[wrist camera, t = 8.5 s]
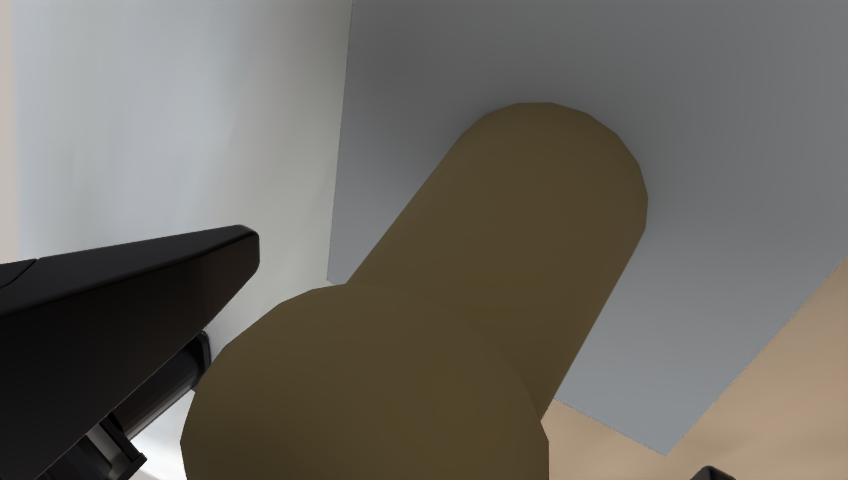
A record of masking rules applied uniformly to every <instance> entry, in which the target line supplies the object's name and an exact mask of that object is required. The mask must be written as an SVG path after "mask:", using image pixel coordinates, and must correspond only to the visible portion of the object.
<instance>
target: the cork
mask: <svg viewBox="0 0 848 480" xmlns="http://www.w3.org/2000/svg"><path fill="white" fill-rule="evenodd" d="M647 207H648V194H647V191H646V187H645V183H644V180H643V176H642V173H641V169H640V166H639V163H638V162H637V161H636V159H635V158H634V157H633V155H632V154H631V152H630V151H629V150H628V148H627V147H626V146H625V144H624V143H623V141H622V140H621V139H620V137H619V136H618V135H617V134H616V133H615V132H613V131H612V130H610V129H609V128H607V127H606V126H605V125H603V124H602V123H600V122H599V121H597V120H596V119H595V118H593V117H592V116H590V115H589V114H588V113H585V112H582V111H579V110H575V109H572V108H569V107H565V106H562V105H559V104H555V103H552V102H543V103H515V104H513V105H510V106H507V107H504V108H502V109H499V110H496V111H493V112H491V113H488V114H485V115H484V116H483V117H482V118H481V119H479V120H478V121H477V122H476V123H475V124H473V125H472V126H471V127H470V128H468V129H467V130H466V131H465V132H464V133H462V135H461V136H460V137H459V138H458V140H457V141H456V142H455V144H454V145H453V146H452V147H451V149H450V150H449V151H448V153H447V154H446V155H445V156H444V158H443V159H442V160H441V162H440V163H439V164H438V165H437V167H436V168H435V169H434V171H433V172H432V173H431V174H430V176H429V177H428V178H427V180H426V181H425V182H424V183H423V185H422V186H421V187H420V189H419V190H418V191H417V192H416V194H415V195H414V196H413V198H412V199H411V200H410V201H409V203H408V204H407V205H406V207H405V208H404V209H403V210H402V212H401V213H400V214H399V216H398V217H397V218H396V219H395V221H394V222H393V223H392V225H391V226H390V227H389V228H388V230H387V231H386V232H385V234H384V235H383V236H382V237H381V239H380V240H379V241H378V243H377V244H376V245H375V246H374V248H373V249H372V250H371V252H370V253H369V254H368V255H367V257H366V258H365V259H364V261H363V262H362V263H361V264H360V266H359V267H358V268H357V270H356V271H355V272H354V273H353V275H352V276H351V277H350V279H349V280H348V281H347V282H346V284H341V285H335V286H329V287H323V288H317V289H312V290H310V291H307V292H305V293H303V294H300V295H298V296H296V297H293V298H291V299H289V300H287V301H284V302H282V303H280V304H278V305H277V306H276V307H274V308H273V309H272V310H270V311H269V312H268V313H267V314H265V315H264V316H263V317H261V318H260V319H259V320H258V321H256V322H255V323H254V324H252V325H251V326H250V327H249V328H247V329H246V330H245V331H244V332H242V333H241V334H240V335H239V336H237V337H236V338H235V339H233V340H232V341H231V342H230V343H228V344H227V345H226V346H225V347H224V348H223V349H222V351H221V352H220V353H219V355H218V356H217V357H216V359H215V360H214V361H213V363H212V364H211V365H210V367H209V368H208V369H207V371H206V372H205V373H204V375H203V376H202V377H201V379H200V381H199V383H198V386H197V389H196V392H195V395H194V398H193V401H192V403H191V406H190V409H189V412H188V415H187V418H186V421H185V424H184V428H183V432H182V436H181V440H180V446H181V451H182V457H183V463H184V469H185V473H186V477H187V480H549V441H548V439H547V436H546V434H545V432H544V429H543V427H542V425H541V422H540V421H541V419H542V418H543V416H544V414H545V412H546V410H547V409H548V407H549V405H550V403H551V401H552V400H553V398H554V396H555V394H556V392H557V391H558V389H559V387H560V385H561V383H562V381H563V380H564V378H565V376H566V374H567V372H568V371H569V369H570V367H571V365H572V363H573V362H574V360H575V358H576V356H577V354H578V353H579V351H580V349H581V347H582V345H583V344H584V342H585V340H586V338H587V336H588V334H589V333H590V331H591V329H592V327H593V325H594V324H595V322H596V320H597V318H598V316H599V315H600V313H601V311H602V309H603V307H604V306H605V304H606V302H607V300H608V298H609V297H610V295H611V293H612V291H613V289H614V287H615V286H616V284H617V282H618V280H619V278H620V277H621V275H622V273H623V271H624V269H625V268H626V266H627V264H628V262H629V260H630V259H631V257H632V255H633V253H634V251H635V249H636V247H637V245H638V243H639V241H640V239H641V237H642V235H643V233H644V231H645V228H646V218H647Z"/></svg>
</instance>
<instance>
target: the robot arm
mask: <svg viewBox="0 0 848 480" xmlns="http://www.w3.org/2000/svg"><path fill="white" fill-rule="evenodd" d="M259 263H260V246H259V235H258V233H257V232H256V231H254V230H252V229H250V228H248V227H246V226H244V225H233V226H227V227H221V228H215V229H209V230H203V231H197V232H191V233H185V234H179V235H173V236H167V237H161V238H155V239H149V240H143V241H137V242H131V243H125V244H119V245H113V246H107V247H101V248H95V249H89V250H83V251H77V252H72V253H66V254H60V255H54V256H48V257H42V258H40V259H29V260H23V261H18V262H12V263H6V264H0V480H129V479H130V478H131V477H132V476H133V475H134V473H135V472H136V471H137V470H138V469H139V468H140V467H141V466H142V465H143V464H144V463H145V462H146V461H147V458H146V457H145V456H144V454H143V453H140V452H139V451H138V450H137V449H136V448H135V447H134V445H133V444H132V443H131V442H130V441H131V440H132V439H133V438H134V437H135V436H137V435H138V434H139V433H140V432H141V431H142V430H144V429H145V428H146V427H147V426H148V425H150V424H151V423H152V422H153V421H154V420H155V419H157V418H158V417H159V416H160V415H161V414H163V413H164V412H165V411H166V410H167V409H168V408H170V407H171V406H172V405H173V404H174V403H176V402H177V401H178V400H179V399H180V398H181V397H183V396H184V395H185V394H186V393H187V392H189V391H190V390H193V391H194V392H196V389H197V386H198V383H199V381H200V379H201V377H202V376H203V375H204V373H205V372H206V371H207V369H208V368H209V367H210V360H209V351H208V342H207V339H206V337H205V336H204V335H203V334H202V333H200V331H201V330H202V329H204V328H205V327H206V326H207V325H208V324H209V323H210V322H211V321H212V320H213V319H214V318H215V317H216V315H217V314H218V313H219V312H220V311H221V310H222V309H223V308H224V307H225V306H226V304H227V303H228V302H229V301H230V300H231V299H232V298H233V297H234V296H235V295H236V293H237V292H238V291H239V290H240V289H241V288H242V287H243V286H244V285H245V284H246V283H247V281H248V280H249V279H250V278H251V277H252V276H253V275H254V274H255V272H256V271H257V269H258V267H259ZM690 480H736V479H735V478H734V477H732V476H730V475H728V474H726V473H724V472H723V471H721V470H719V469H717V468H715V467H713V466H705V467H703V468H702V469H701V470H700V471H699V472H698V473H697V474H696V475H695V476H694V477H692V478H691V479H690Z"/></svg>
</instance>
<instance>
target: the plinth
mask: <svg viewBox="0 0 848 480" xmlns="http://www.w3.org/2000/svg"><path fill="white" fill-rule="evenodd" d="M543 102H552V103H555V104H559V105H562V106H565V107H569V108H572V109H575V110H579V111H582V112H585V113H588V114H589V115H590V116H592V117H593V118H595V119H596V120H597V121H599V122H600V123H602V124H603V125H605V126H606V127H607V128H609V129H610V130H612V131H613V132H615V133H616V134H617V135H618V136H619V137H620V139H621V140H622V141H623V143H624V144H625V146H626V147H627V148H628V150H629V151H630V152H631V154H632V155H633V157H634V158H635V159H636V161H637V162H638V163H639V166H640V169H641V173H642V176H643V180H644V183H645V187H646V191H647V194H648V207H647V218H646V228H645V231H644V233H643V235H642V237H641V239H640V241H639V243H638V245H637V247H636V249H635V251H634V253H633V255H632V257H631V259H630V260H629V262H628V264H627V266H626V268H625V269H624V271H623V273H622V275H621V277H620V278H619V280H618V282H617V284H616V286H615V287H614V289H613V291H612V293H611V295H610V297H609V298H608V300H607V302H606V304H605V306H604V307H603V309H602V311H601V313H600V315H599V316H598V318H597V320H596V322H595V324H594V325H593V327H592V329H591V331H590V333H589V334H588V336H587V338H586V340H585V342H584V344H583V345H582V347H581V349H580V351H579V353H578V354H577V356H576V358H575V360H574V362H573V363H572V365H571V367H570V369H569V371H568V372H567V374H566V376H565V378H564V380H563V381H562V383H561V385H560V387H559V389H558V391H557V392H556V394H555V396H554V399H556V400H558V401H560V402H561V403H563V404H565V405H567V406H569V407H571V408H573V409H575V410H577V411H579V412H581V413H583V414H584V415H586V416H588V417H590V418H592V419H594V420H596V421H598V422H600V423H602V424H604V425H606V426H608V427H609V428H611V429H613V430H615V431H617V432H619V433H621V434H623V435H625V436H627V437H629V438H631V439H632V440H634V441H636V442H638V443H640V444H642V445H644V446H646V447H648V448H650V449H652V450H654V451H656V452H657V453H659V454H661V455H663V456H666V455H667V454H668V453H669V452H670V451H671V450H672V449H673V447H674V446H675V445H676V444H677V443H678V442H679V441H680V440H681V439H682V437H683V436H684V435H685V434H686V433H687V432H688V431H689V430H690V429H691V428H692V426H693V425H694V424H695V423H696V422H697V421H698V420H699V419H700V418H701V417H702V415H703V414H704V413H705V412H706V411H707V410H708V409H709V408H710V407H711V406H712V404H713V403H714V402H715V401H716V400H717V399H718V398H719V397H720V396H721V394H722V393H723V392H724V391H725V390H726V389H727V388H728V387H729V386H730V385H731V383H732V382H733V381H734V380H735V379H736V378H737V377H738V376H739V375H740V374H741V372H742V371H743V370H744V369H745V368H746V367H747V366H748V365H749V364H750V363H751V361H752V360H753V359H754V358H755V357H756V356H757V355H758V354H759V353H760V351H761V350H762V349H763V348H764V347H765V346H766V345H767V344H768V343H769V342H770V340H771V339H772V338H773V337H774V336H775V335H776V334H777V333H778V332H779V331H780V329H781V328H782V327H783V326H784V325H785V324H786V323H787V322H788V321H789V320H790V318H791V317H792V316H793V315H794V314H795V313H796V312H797V311H798V310H799V309H800V307H801V306H802V305H803V304H804V303H805V302H806V301H807V300H808V299H809V297H810V296H811V295H812V294H813V293H814V292H815V291H816V290H817V289H818V288H819V286H820V285H821V284H822V283H823V282H824V281H825V280H826V279H827V278H828V277H829V275H830V274H831V273H832V272H833V271H834V270H835V269H836V268H837V267H838V266H839V264H840V263H841V262H842V261H843V260H844V259H845V258H846V257H847V256H848V0H353V4H352V15H351V25H350V36H349V47H348V57H347V68H346V79H345V90H344V100H343V111H342V122H341V132H340V143H339V154H338V165H337V175H336V186H335V197H334V207H333V218H332V229H331V239H330V250H329V261H328V272H327V281H329V282H331V283H333V284H335V285H341V284H346V282H347V281H348V280H349V279H350V277H351V276H352V275H353V273H354V272H355V271H356V270H357V268H358V267H359V266H360V264H361V263H362V262H363V261H364V259H365V258H366V257H367V255H368V254H369V253H370V252H371V250H372V249H373V248H374V246H375V245H376V244H377V243H378V241H379V240H380V239H381V237H382V236H383V235H384V234H385V232H386V231H387V230H388V228H389V227H390V226H391V225H392V223H393V222H394V221H395V219H396V218H397V217H398V216H399V214H400V213H401V212H402V210H403V209H404V208H405V207H406V205H407V204H408V203H409V201H410V200H411V199H412V198H413V196H414V195H415V194H416V192H417V191H418V190H419V189H420V187H421V186H422V185H423V183H424V182H425V181H426V180H427V178H428V177H429V176H430V174H431V173H432V172H433V171H434V169H435V168H436V167H437V165H438V164H439V163H440V162H441V160H442V159H443V158H444V156H445V155H446V154H447V153H448V151H449V150H450V149H451V147H452V146H453V145H454V144H455V142H456V141H457V140H458V138H459V137H460V136H461V135H462V133H464V132H465V131H466V130H467V129H468V128H470V127H471V126H472V125H473V124H475V123H476V122H477V121H478V120H479V119H481V118H482V117H483V116H484V115H485V114H488V113H491V112H493V111H496V110H499V109H502V108H504V107H507V106H510V105H513V104H515V103H543Z"/></svg>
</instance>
